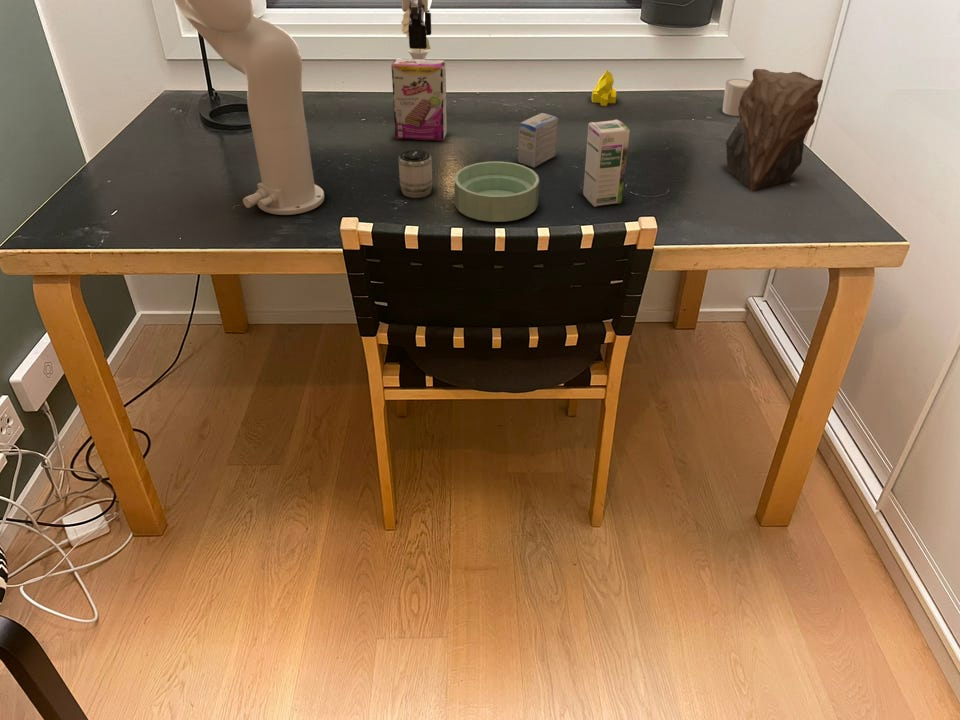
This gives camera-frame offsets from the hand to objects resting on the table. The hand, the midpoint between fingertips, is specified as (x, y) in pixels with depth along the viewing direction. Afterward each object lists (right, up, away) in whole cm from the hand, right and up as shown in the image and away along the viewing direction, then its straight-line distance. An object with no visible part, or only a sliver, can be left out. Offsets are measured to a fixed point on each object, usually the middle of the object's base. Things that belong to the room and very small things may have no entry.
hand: (420, 41), depth 143 cm
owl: (+67, -24, +9) cm, 72 cm away
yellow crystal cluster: (+43, +4, +45) cm, 62 cm away
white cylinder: (+73, -1, +39) cm, 83 cm away
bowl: (+14, -32, -2) cm, 35 cm away
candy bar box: (-2, -11, +25) cm, 28 cm away
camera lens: (-1, -28, +3) cm, 29 cm away
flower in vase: (-3, 0, +39) cm, 40 cm away
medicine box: (+23, -19, +15) cm, 34 cm away
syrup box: (+35, -30, +1) cm, 46 cm away
